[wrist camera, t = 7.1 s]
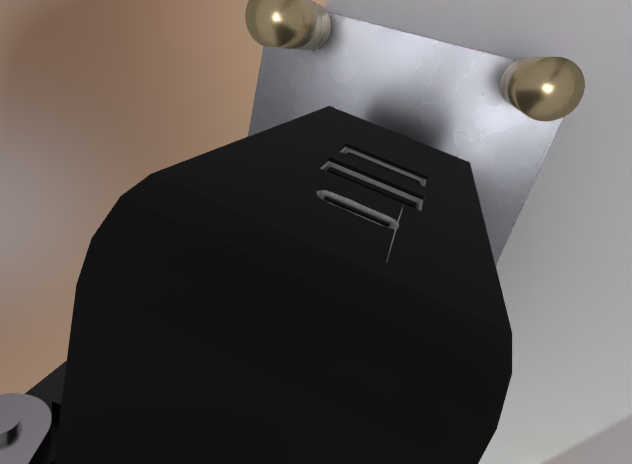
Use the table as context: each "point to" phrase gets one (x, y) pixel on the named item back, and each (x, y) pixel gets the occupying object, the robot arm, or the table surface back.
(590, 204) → the table surface
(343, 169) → the electronic device
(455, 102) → the chassis
